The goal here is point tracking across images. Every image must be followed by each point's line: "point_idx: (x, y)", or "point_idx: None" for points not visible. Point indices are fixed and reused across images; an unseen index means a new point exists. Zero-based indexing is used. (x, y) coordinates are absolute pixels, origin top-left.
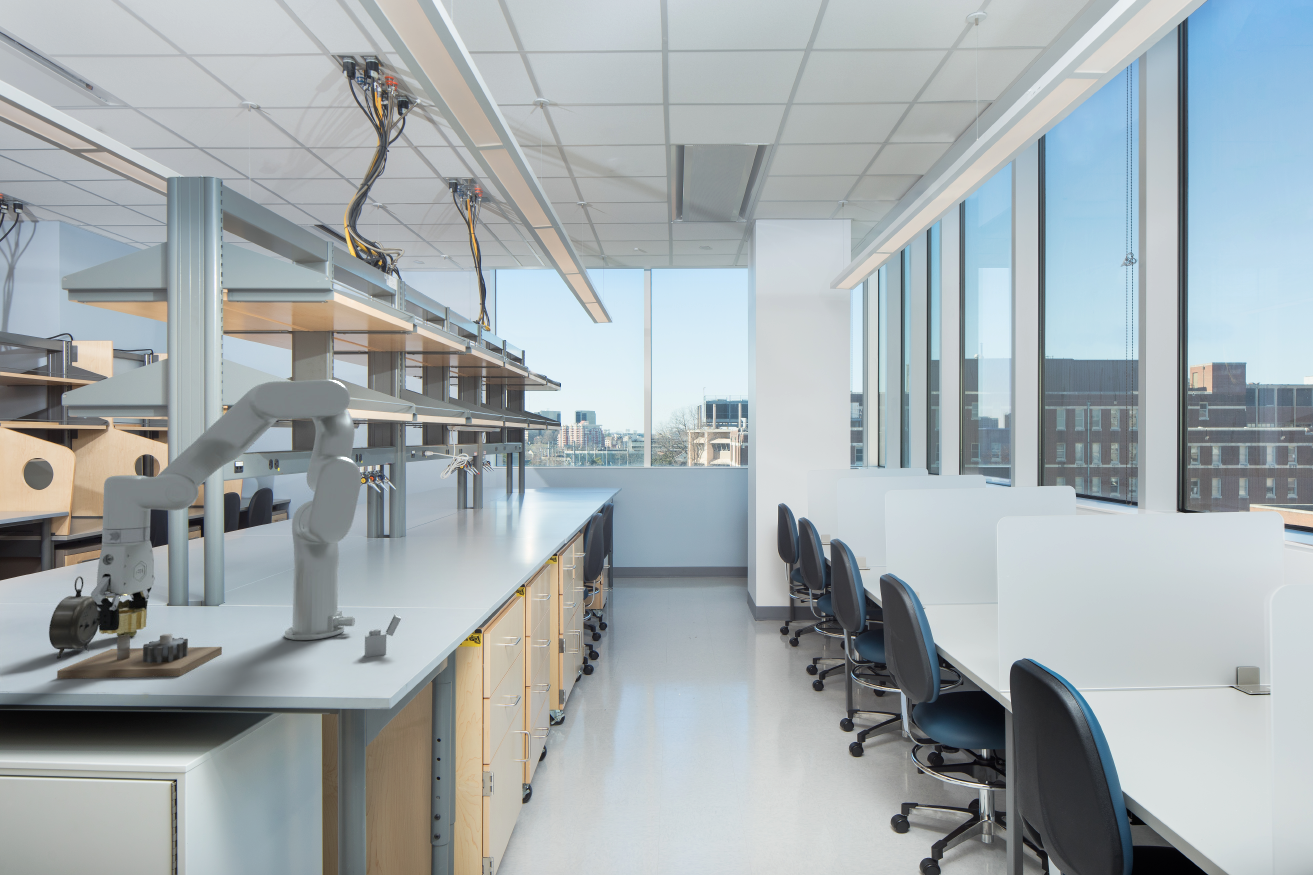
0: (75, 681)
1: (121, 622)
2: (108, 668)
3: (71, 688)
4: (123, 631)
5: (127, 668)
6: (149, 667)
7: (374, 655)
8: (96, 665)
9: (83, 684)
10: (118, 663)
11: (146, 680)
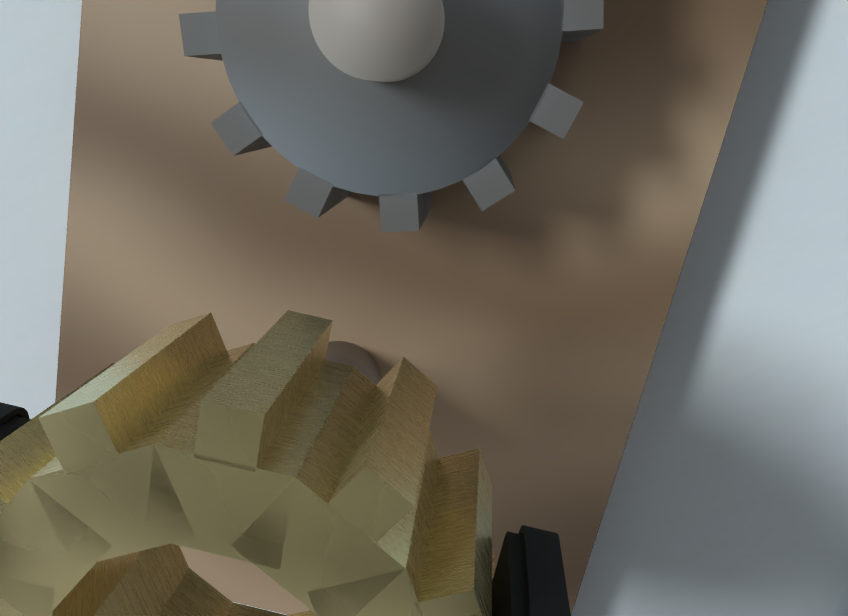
0: (654, 514)
1: (481, 547)
2: (615, 378)
3: (824, 477)
4: (480, 458)
5: (670, 233)
6: (707, 53)
7: None
8: (495, 491)
9: (753, 440)
10: (485, 359)
11: (840, 20)
